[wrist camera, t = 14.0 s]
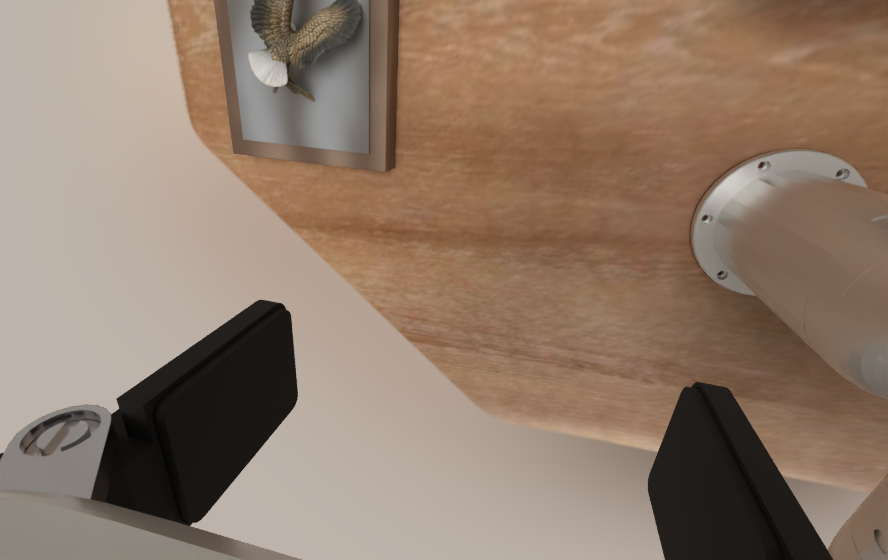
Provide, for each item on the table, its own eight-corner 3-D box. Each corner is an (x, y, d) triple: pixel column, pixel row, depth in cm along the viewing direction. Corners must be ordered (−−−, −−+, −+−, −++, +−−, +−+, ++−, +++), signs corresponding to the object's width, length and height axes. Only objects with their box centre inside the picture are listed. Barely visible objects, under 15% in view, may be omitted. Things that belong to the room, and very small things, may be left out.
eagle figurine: (306, 77, 40) (355, -12, 35) (319, 123, 36) (376, 30, 32) (219, 32, 35) (264, -80, 30) (225, 81, 31) (277, -38, 26)
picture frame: (400, -59, 34) (387, -71, 31) (394, 167, 42) (384, 172, 39) (227, -62, 37) (201, -74, 34) (250, 150, 44) (231, 153, 42)
